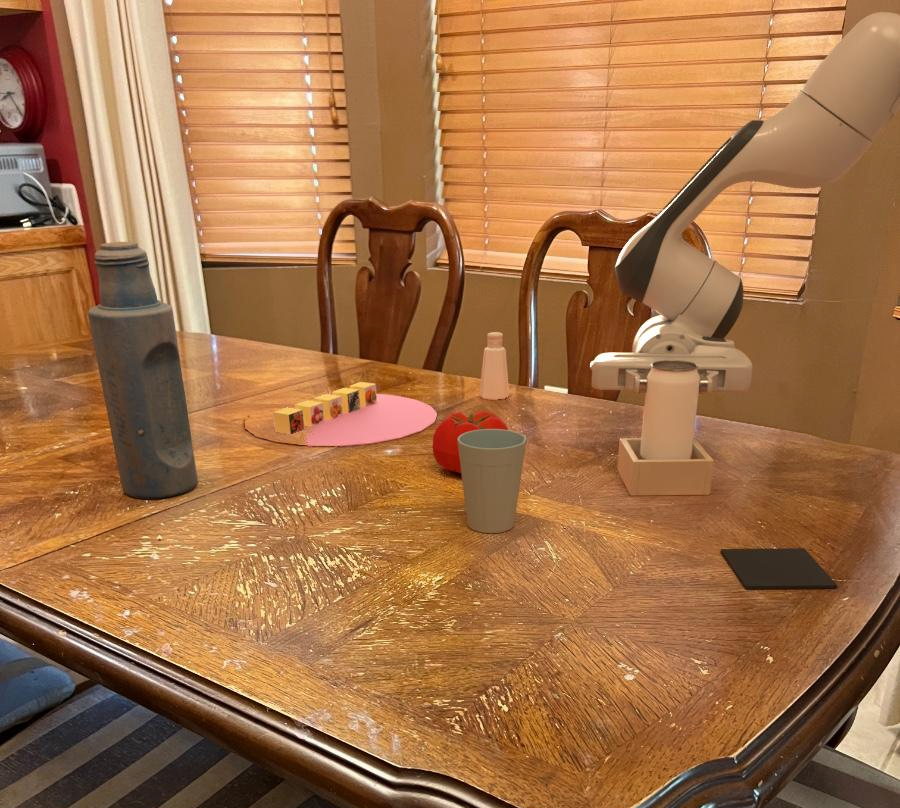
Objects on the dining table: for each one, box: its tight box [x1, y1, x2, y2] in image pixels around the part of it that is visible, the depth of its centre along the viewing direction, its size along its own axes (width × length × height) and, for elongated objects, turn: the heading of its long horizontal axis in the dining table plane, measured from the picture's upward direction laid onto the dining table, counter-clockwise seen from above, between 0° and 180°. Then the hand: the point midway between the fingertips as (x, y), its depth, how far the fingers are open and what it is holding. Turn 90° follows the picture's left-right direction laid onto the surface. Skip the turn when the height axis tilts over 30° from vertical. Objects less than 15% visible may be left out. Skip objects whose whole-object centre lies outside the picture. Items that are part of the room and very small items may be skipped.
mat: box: [720, 547, 838, 590], centre depth 89 cm, size 9×9×1 cm
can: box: [640, 360, 700, 460], centre depth 109 cm, size 6×6×12 cm
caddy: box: [616, 437, 715, 497], centre depth 112 cm, size 10×10×4 cm
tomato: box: [432, 410, 509, 475], centre depth 117 cm, size 11×11×8 cm
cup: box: [458, 429, 527, 534], centre depth 98 cm, size 8×8×10 cm
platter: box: [273, 381, 438, 448], centre depth 142 cm, size 32×32×3 cm
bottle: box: [87, 241, 199, 500], centre depth 107 cm, size 10×10×30 cm
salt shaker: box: [478, 331, 510, 401], centre depth 151 cm, size 5×5×11 cm
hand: (673, 386), depth 106 cm, fingers closed on can, 6 cm apart
